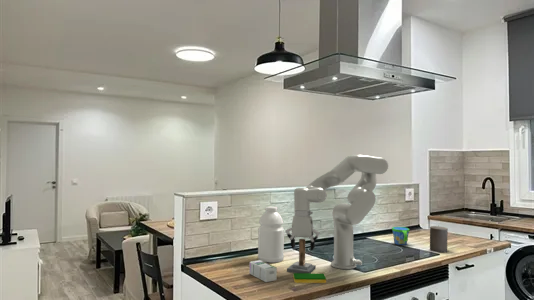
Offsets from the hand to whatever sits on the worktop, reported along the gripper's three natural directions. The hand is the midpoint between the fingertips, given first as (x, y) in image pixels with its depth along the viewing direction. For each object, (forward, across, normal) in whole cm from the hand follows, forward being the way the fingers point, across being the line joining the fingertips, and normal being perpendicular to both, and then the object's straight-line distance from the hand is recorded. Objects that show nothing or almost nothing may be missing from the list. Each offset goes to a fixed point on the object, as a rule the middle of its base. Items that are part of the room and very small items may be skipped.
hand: (302, 248), depth 176 cm
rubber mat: (+10, +1, 0) cm, 10 cm away
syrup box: (+7, +7, +22) cm, 24 cm away
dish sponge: (+11, -7, +13) cm, 18 cm away
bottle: (+10, +22, -10) cm, 26 cm away
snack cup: (+12, -39, -79) cm, 90 cm away
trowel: (+9, 0, 0) cm, 9 cm away
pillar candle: (+13, -61, -72) cm, 96 cm away
